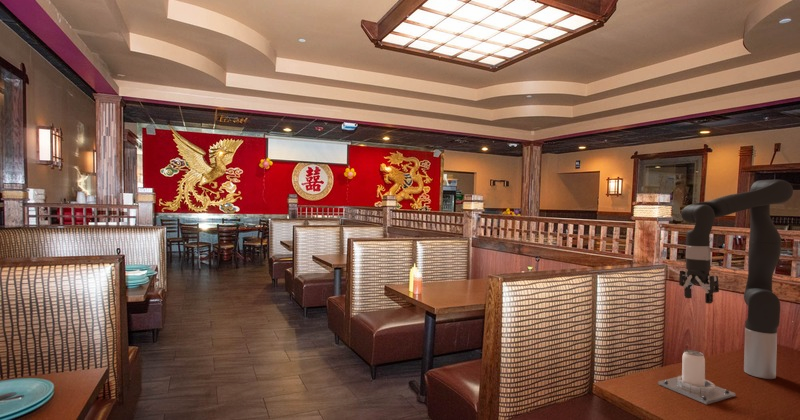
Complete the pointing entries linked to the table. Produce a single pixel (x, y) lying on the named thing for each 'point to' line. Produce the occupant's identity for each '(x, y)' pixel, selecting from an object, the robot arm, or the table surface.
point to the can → (693, 368)
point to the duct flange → (697, 390)
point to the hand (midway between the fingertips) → (698, 300)
